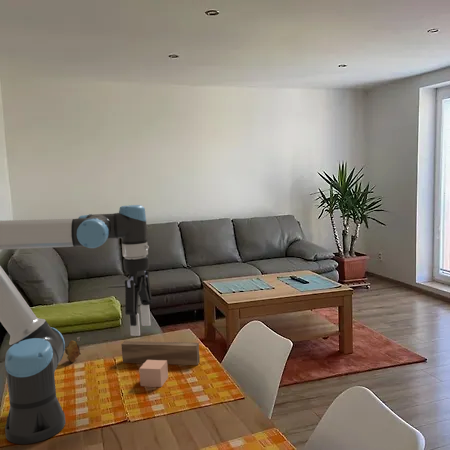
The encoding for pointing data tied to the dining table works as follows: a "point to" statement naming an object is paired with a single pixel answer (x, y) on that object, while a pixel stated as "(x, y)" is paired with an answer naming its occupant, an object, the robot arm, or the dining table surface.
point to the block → (153, 373)
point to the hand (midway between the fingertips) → (140, 330)
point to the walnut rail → (161, 352)
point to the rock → (73, 350)
